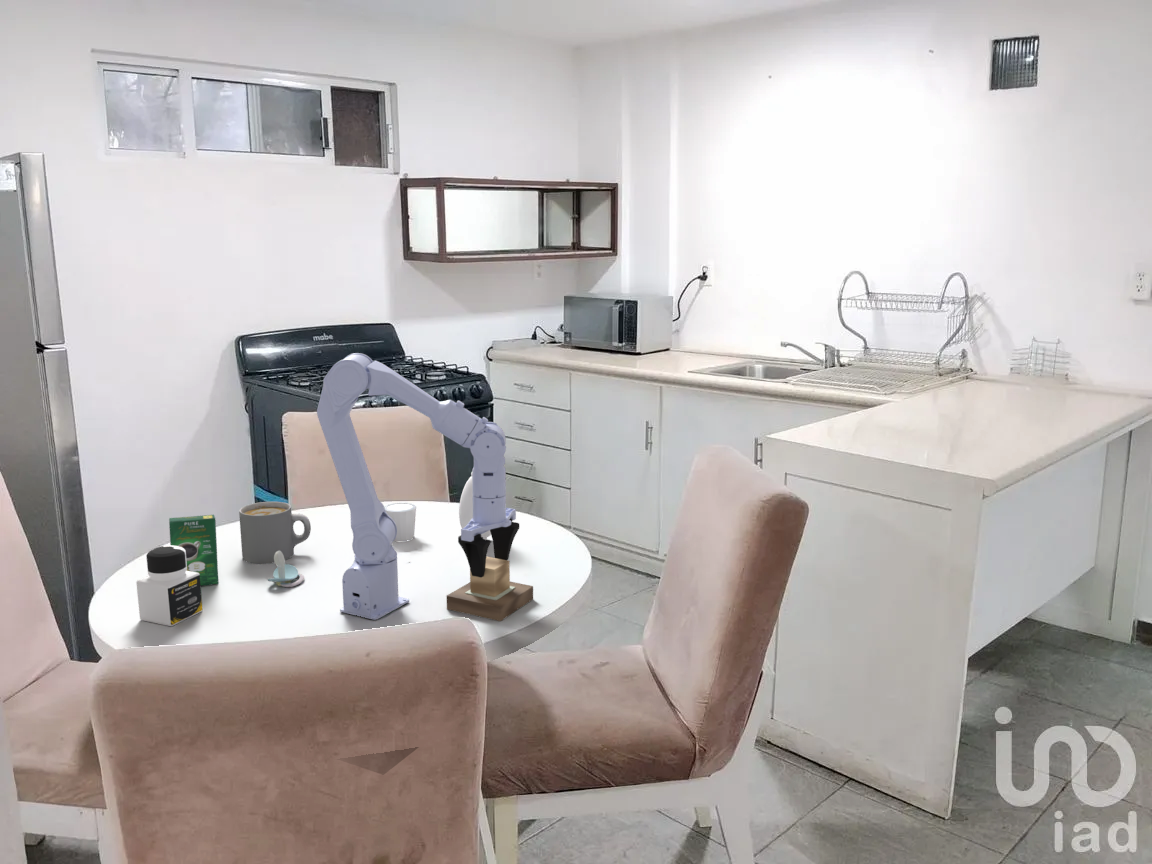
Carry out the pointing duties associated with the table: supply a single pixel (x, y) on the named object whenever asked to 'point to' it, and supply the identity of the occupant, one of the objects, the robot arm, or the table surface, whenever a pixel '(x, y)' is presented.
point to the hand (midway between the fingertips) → (489, 569)
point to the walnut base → (490, 601)
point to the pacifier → (285, 572)
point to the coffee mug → (269, 531)
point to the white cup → (403, 519)
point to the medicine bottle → (168, 588)
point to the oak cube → (492, 578)
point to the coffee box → (197, 545)
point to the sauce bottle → (468, 507)
